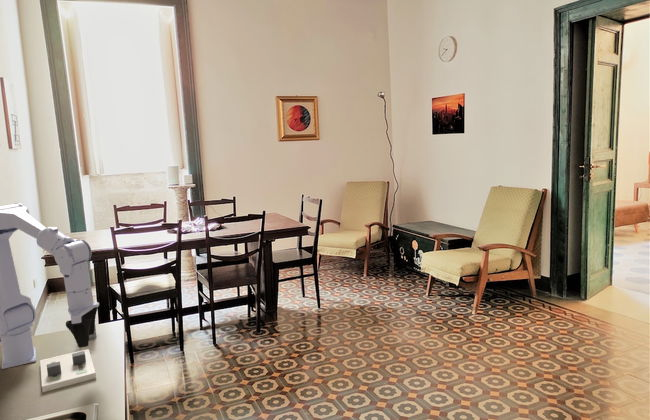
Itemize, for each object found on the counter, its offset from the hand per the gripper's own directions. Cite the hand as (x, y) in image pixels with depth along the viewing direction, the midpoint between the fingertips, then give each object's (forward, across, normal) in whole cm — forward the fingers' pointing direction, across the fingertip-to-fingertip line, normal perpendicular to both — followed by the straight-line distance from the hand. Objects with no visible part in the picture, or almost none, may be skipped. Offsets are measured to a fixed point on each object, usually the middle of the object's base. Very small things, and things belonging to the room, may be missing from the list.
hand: (86, 340), depth 123 cm
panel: (+10, +6, +7) cm, 14 cm away
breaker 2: (+8, +7, +4) cm, 11 cm away
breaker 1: (+8, +2, +9) cm, 12 cm away
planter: (+10, +27, +6) cm, 29 cm away
